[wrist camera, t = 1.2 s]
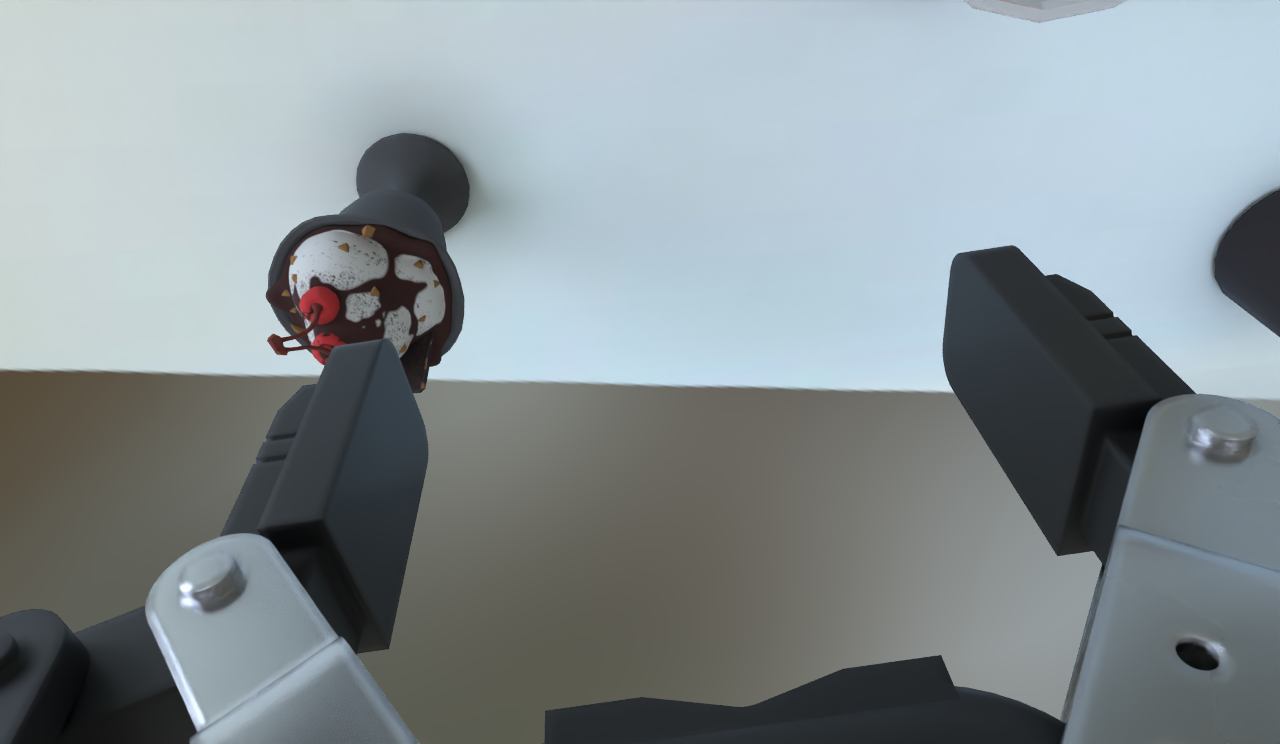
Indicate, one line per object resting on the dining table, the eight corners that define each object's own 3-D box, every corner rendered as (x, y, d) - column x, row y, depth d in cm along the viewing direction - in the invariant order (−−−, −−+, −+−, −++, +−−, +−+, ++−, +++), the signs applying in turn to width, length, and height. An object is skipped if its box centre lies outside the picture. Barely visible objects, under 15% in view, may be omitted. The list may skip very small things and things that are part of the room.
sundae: (333, 100, 34) (202, 273, 22) (494, 127, 36) (453, 306, 23) (335, 241, 38) (224, 455, 26) (481, 261, 39) (441, 476, 27)
